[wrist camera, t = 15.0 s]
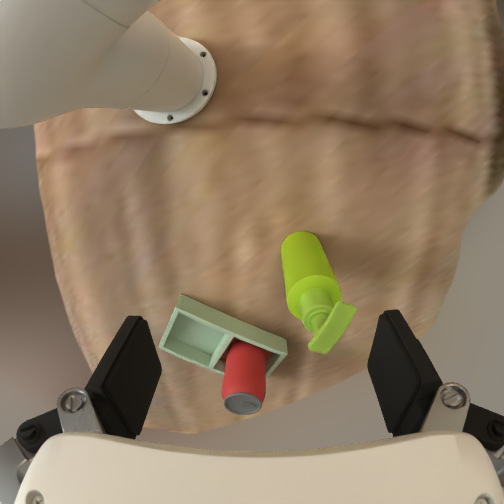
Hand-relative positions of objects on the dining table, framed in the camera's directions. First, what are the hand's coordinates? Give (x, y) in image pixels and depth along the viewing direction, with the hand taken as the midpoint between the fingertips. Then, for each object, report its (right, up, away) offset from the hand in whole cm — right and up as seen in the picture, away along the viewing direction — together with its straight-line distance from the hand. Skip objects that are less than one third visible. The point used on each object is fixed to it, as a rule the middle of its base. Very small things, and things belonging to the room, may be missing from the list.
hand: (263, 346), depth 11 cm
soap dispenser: (+7, +4, +31) cm, 32 cm away
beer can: (-1, -13, +38) cm, 41 cm away
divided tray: (-5, -11, +38) cm, 40 cm away
